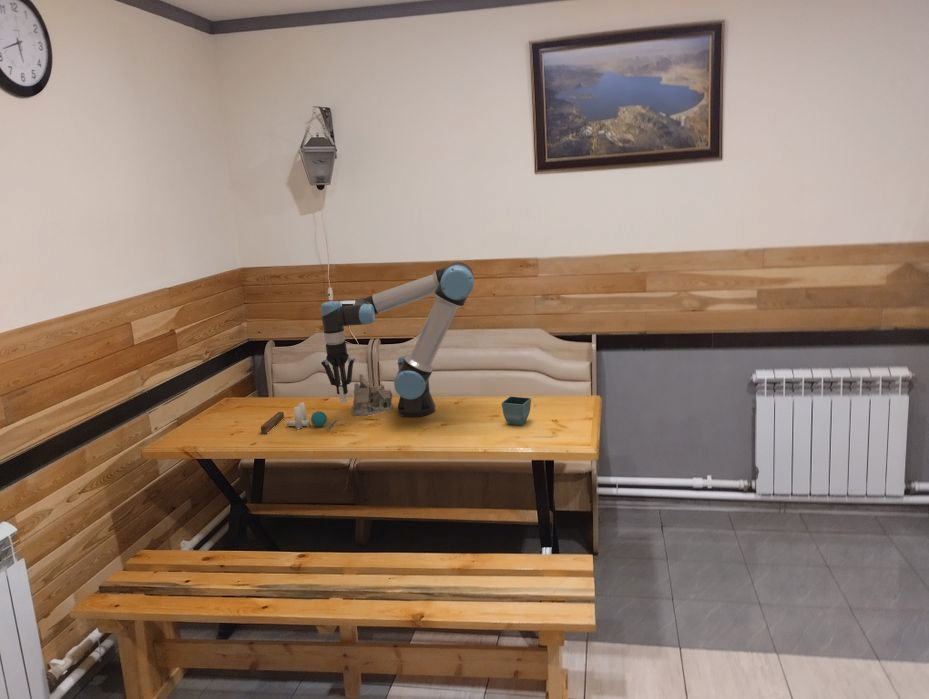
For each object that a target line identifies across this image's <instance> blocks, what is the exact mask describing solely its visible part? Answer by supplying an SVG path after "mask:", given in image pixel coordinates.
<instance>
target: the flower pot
mask: <svg viewBox="0 0 929 699" xmlns="http://www.w3.org/2000/svg"><path fill="white" fill-rule="evenodd" d="M531 405H532V397H522V396H513V395H512V396H509V397H507V398H506V399H505V400H503V401H502V402H501V408H502V414H503V417H504V419H505V421H506V423H508V425H512V424H516V425H515V426H523V424H524V423H526V422H527V420H528V418H529V415H530V412H531Z"/></svg>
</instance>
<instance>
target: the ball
mask: <svg viewBox="0 0 929 699" xmlns="http://www.w3.org/2000/svg"><path fill="white" fill-rule="evenodd" d="M327 420H328V418H327V415H326V413H325V412H323V411H320V410H319V411H315V412H314V413H313V414H311V417H310V422H311V424H312V425H313V426H314V427H318V428H320V427H323V426H324V425H325V424H326V423H327Z"/></svg>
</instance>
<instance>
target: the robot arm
mask: <svg viewBox="0 0 929 699" xmlns="http://www.w3.org/2000/svg"><path fill="white" fill-rule="evenodd" d="M474 283H475V280H474V272H473V270H472V268H471V267H470V266H469V265H467V263H463V262H460V261H456V262H451V263H449V264H448V265H446V266H443V267H442V268H438V269H436V270H434V271H433V273H432V274H429V275H427V276H424V277H420V278H418V279H415V280H413V281H409V282H407V283H404V284H401V285H397V286H394V287H392V288H388V289H386V290H383V291H380V292H377V293H374V294H372V295H369V296H363V297H360V298H358V299H357V300H356V301H355V302H354V304H352V305H342V304H341V302H340V301H339V300H330V301H325V302H323V303H322V304H321V305H320V317H321V321H322V328H323V334H324V336H323V337H324V342H325V343H326V344H325V349H326V359H324V360H322V361H321V366H322V367H323V368H324V371H325V373H326V375H327V378H328V380H329V382H330V385H331V386H334V387H335V388H336V394H337V395H339V400H340V404H345V403H347V400H348V399H347V394H348V392H349V391H348V385H350V384H351V383H352V378H353V377H352V376H353V368H354V364H355V362H356V359H355V358H351V357H350V355H349V354H348V351H347V350H348V349H347V342H346V336H345V329H344V327H348V326H349V327H350V326H361V325H363V326H364V325H365V326H366V325H370V324H374V322H375V321H376V319H375V318H376V315H378V314H380V313H381V314H382V313H383V312H386V311H390V310H393V309H395V308H398V307H400V306H405V305H407V304H411V303H413V302H416V301H419V300H422V299H426V298H428V297H430V296H431V297H432V296H433V295H435V299H436V300H435V301H434V303H433V306H432V308H431V310H430V313H429V314H428V316H427V319H426V320H425V323H424V325H423V327H422V329H421V332H420V334H419V336H418V338H417V341H416V342H415V344H414V346H413V349H412V351H411V353H410V355H409V354H407V355H401V356H400V357H398V359H397V365H398V366H397V367H398V371H397V373H396V376H395V378H394V379H393V380H394V382H393V385H394V390H395V392H396V393H397V395H399V399H398V402H397V404H398V405H397V414H398V416H402V417H405V418H407V417H409V418H419V417H423V416H428V415H432V414H433V413H435V411H436V404H435V401H434V398H433V396H432V395H431V391H430V377H431V375H432V373H433V371H434V370H433V367H432V364H433V361H434V360H435V357H436V356H437V354H438V352H439V349H440V346H442V343H443V340H444V338H445V337H446V333H447V332H448V330H449V327H450V325H451V323H452V322H453V319H454V317H455V315H456V312H457V311H458V309H460V308H462V307H464V305H465V303H466V301H467V299H468V296H469V295H470V294H471V293H472V291H473V289H474V285H475V284H474ZM346 363H347V364H348V365H347V373H346ZM330 365H331V366H332V367H331V366H330ZM332 370H333V372H332Z"/></svg>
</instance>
